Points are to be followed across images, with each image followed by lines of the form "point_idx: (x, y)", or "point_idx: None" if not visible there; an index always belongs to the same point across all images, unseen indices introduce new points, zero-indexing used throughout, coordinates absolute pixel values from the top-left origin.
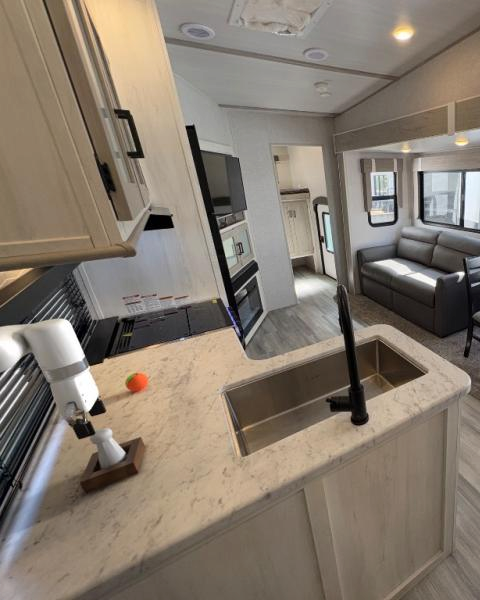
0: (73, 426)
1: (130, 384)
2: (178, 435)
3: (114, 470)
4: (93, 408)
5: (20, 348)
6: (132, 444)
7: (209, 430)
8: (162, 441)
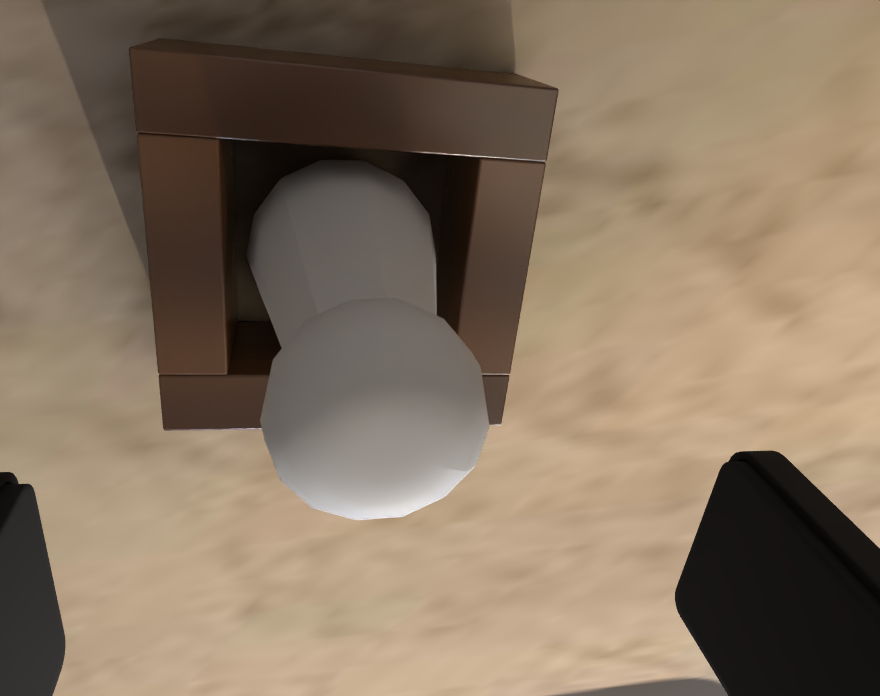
0: None
1: None
2: (448, 533)
3: (155, 306)
4: (801, 646)
5: None
6: None
7: (364, 670)
8: None
